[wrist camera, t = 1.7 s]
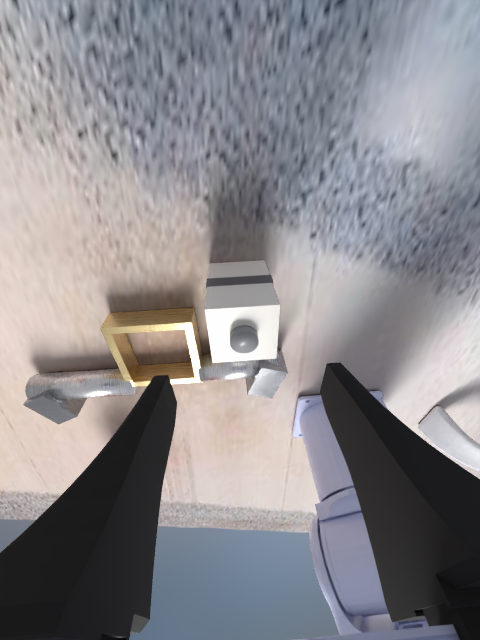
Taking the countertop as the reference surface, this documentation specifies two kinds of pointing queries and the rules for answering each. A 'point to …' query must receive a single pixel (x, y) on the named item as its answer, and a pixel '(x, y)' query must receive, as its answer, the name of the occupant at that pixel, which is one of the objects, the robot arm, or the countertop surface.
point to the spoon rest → (450, 438)
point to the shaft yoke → (145, 367)
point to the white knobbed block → (241, 312)
